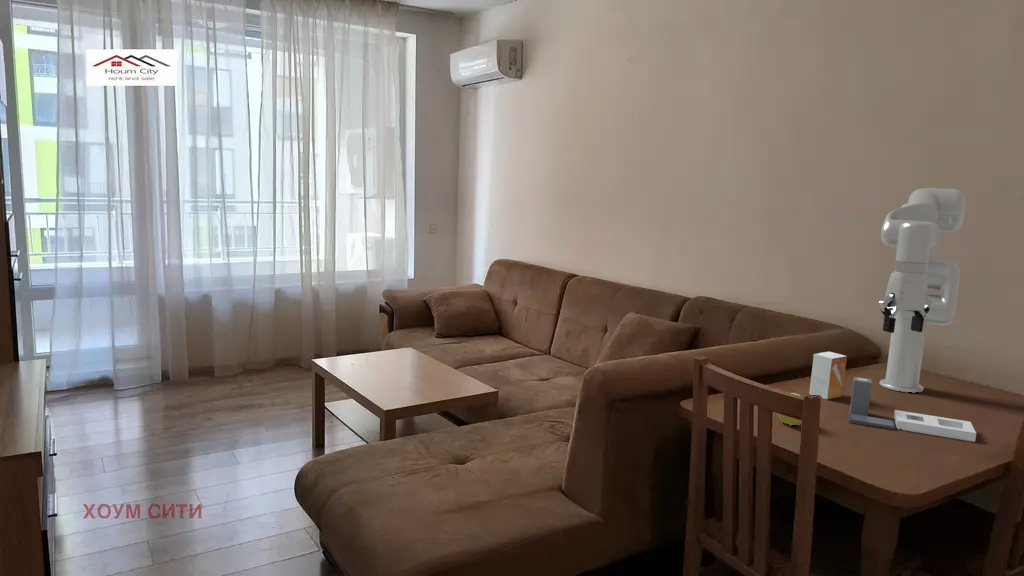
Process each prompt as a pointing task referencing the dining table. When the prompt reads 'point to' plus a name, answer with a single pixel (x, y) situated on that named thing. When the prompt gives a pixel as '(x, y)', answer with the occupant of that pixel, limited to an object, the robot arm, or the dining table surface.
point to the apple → (789, 420)
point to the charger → (860, 396)
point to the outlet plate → (935, 425)
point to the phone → (871, 421)
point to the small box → (828, 375)
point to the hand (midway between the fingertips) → (902, 331)
